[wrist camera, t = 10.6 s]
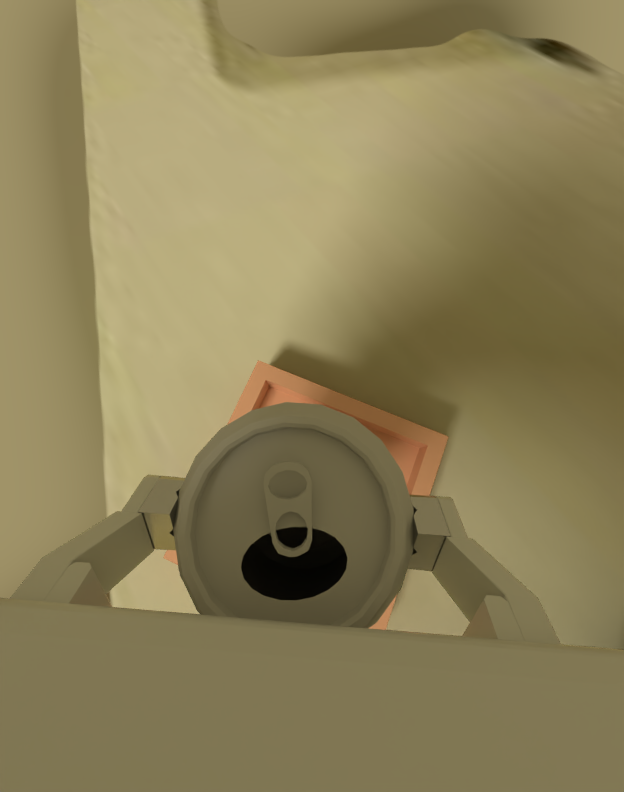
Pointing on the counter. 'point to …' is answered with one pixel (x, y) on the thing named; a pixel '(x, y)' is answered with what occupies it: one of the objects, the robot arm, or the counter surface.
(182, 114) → the counter surface
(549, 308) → the counter surface
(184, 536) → the can
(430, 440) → the dish
